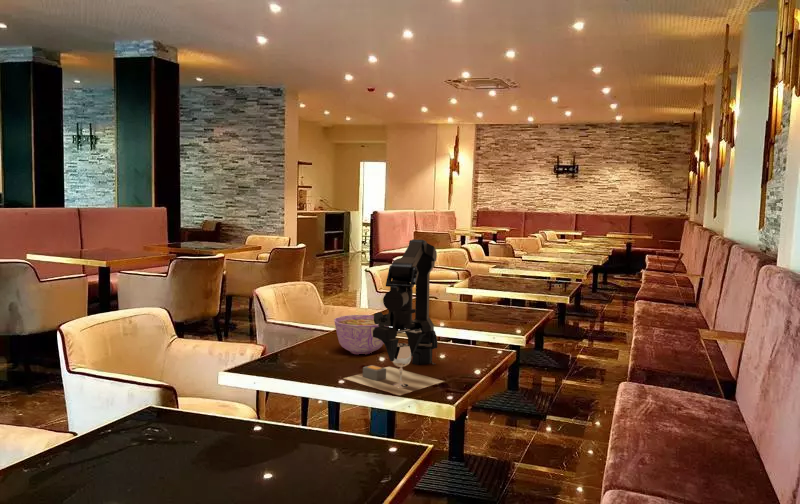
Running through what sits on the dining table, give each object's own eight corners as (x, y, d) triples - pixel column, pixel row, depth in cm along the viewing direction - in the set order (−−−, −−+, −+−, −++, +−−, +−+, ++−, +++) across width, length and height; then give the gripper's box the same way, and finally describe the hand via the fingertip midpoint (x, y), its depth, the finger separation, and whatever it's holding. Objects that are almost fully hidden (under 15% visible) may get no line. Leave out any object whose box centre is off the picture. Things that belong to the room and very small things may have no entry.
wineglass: (408, 389, 187) (409, 347, 186) (388, 387, 188) (389, 346, 187) (412, 383, 192) (413, 343, 191) (393, 382, 194) (394, 342, 193)
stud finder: (372, 374, 201) (372, 364, 201) (386, 378, 197) (386, 368, 197) (362, 376, 198) (362, 366, 198) (376, 381, 194) (376, 370, 194)
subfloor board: (388, 369, 211) (389, 366, 211) (444, 384, 196) (444, 381, 196) (343, 381, 197) (343, 378, 196) (399, 398, 181) (399, 395, 181)
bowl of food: (388, 359, 224) (389, 326, 223) (330, 358, 224) (330, 324, 223) (390, 346, 244) (390, 315, 243) (336, 344, 244) (337, 314, 243)
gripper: (403, 298, 200) (402, 348, 202) (359, 305, 187) (358, 359, 188) (431, 303, 193) (430, 355, 194) (387, 310, 179) (386, 366, 181)
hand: (401, 358), depth 190 cm, fingers open, 8 cm apart
